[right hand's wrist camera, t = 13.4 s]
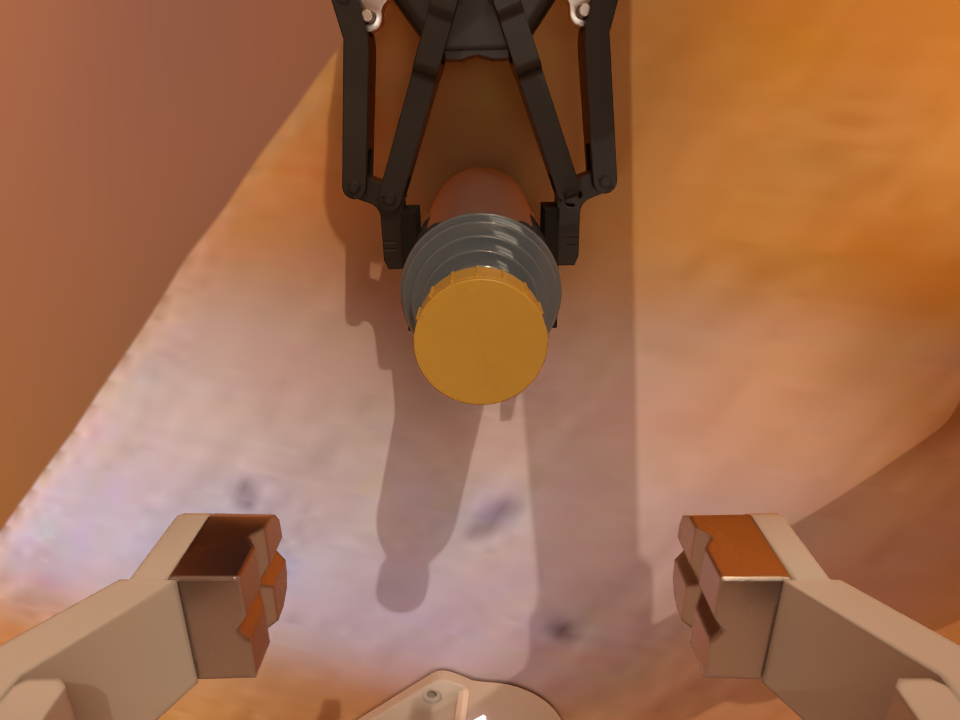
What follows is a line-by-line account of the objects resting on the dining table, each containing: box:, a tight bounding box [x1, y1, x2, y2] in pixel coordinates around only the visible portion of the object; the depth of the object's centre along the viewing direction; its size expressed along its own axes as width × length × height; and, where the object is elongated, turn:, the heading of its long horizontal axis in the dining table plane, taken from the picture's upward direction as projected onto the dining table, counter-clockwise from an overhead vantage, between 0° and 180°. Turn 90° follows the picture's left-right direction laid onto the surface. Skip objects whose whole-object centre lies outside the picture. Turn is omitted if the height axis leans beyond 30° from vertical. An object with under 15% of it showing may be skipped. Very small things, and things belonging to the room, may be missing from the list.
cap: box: [413, 265, 549, 405], centre depth 20 cm, size 4×4×2 cm
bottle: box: [400, 167, 561, 334], centre depth 30 cm, size 6×6×23 cm
